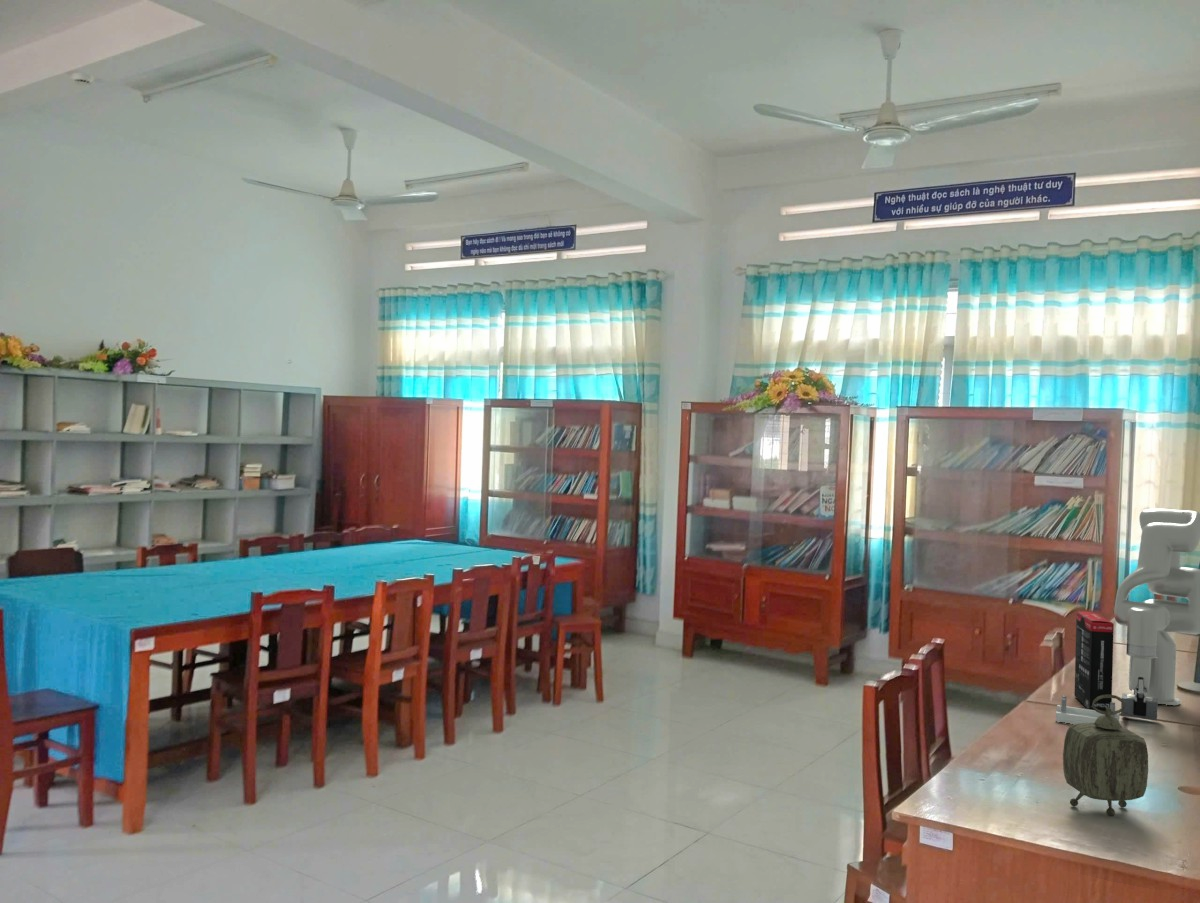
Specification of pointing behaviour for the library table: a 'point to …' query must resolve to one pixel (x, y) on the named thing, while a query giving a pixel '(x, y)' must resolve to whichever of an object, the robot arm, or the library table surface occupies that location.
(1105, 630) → the graphics card box
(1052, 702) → the library table surface
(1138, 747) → the tabletop clock
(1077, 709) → the white and grey device
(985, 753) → the library table surface
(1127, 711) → the block
